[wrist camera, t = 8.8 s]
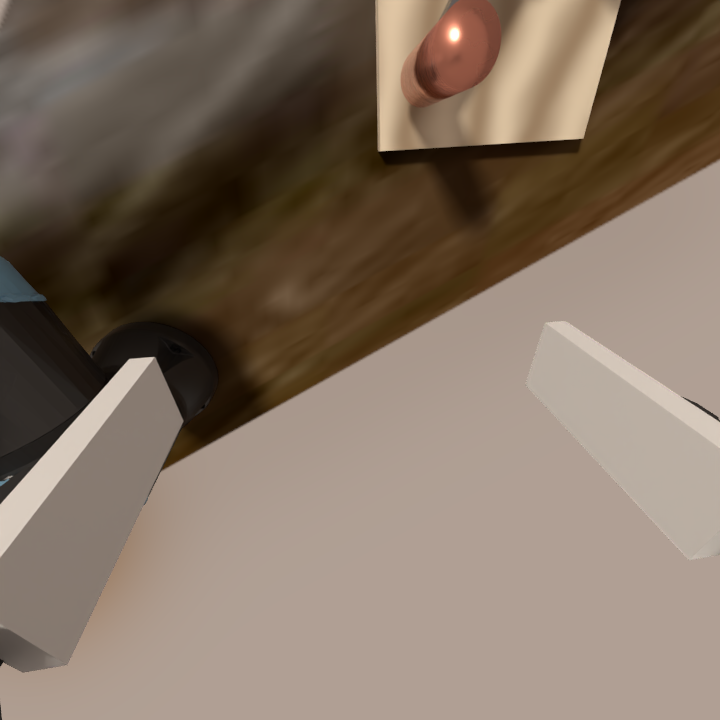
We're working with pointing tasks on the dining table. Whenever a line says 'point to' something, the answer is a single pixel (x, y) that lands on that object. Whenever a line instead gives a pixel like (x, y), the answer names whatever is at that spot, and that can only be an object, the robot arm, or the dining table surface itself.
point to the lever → (453, 53)
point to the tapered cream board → (498, 75)
